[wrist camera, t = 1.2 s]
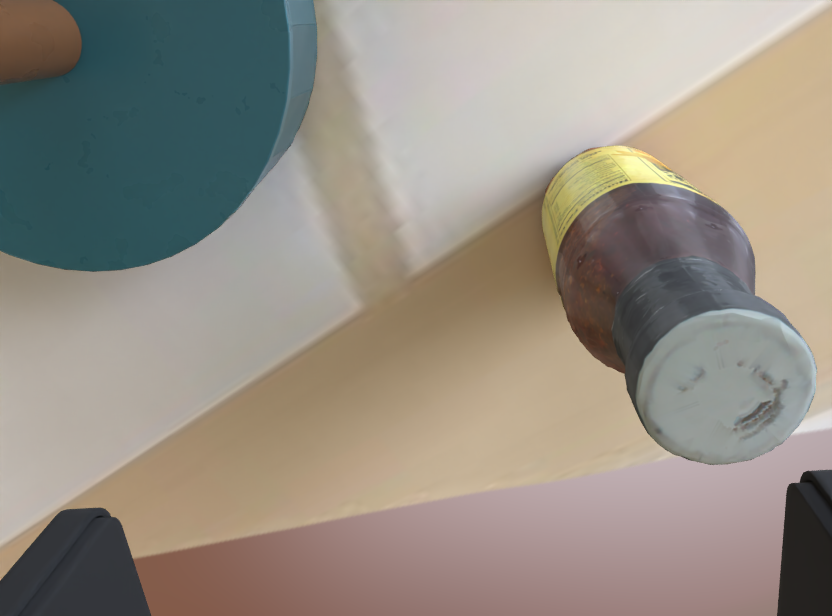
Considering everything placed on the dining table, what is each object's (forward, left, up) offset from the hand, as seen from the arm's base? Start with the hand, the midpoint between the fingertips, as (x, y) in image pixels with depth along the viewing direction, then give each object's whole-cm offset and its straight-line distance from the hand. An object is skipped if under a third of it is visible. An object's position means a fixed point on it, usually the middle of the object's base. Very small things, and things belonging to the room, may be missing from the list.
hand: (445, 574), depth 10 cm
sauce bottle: (0, +6, -27) cm, 28 cm away
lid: (-5, -17, -20) cm, 27 cm away
